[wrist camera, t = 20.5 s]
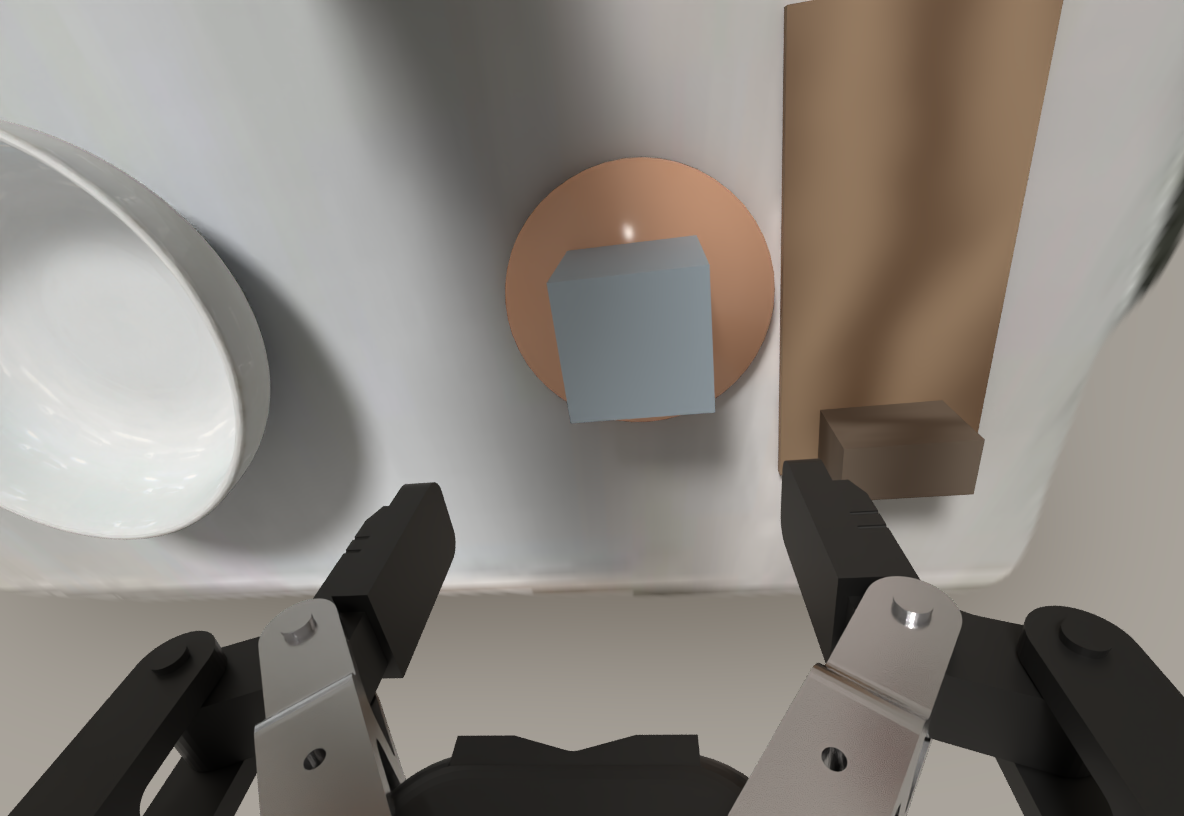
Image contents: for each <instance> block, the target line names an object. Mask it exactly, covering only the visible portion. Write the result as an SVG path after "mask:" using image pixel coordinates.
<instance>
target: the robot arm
mask: <svg viewBox="0 0 1184 816" xmlns="http://www.w3.org/2000/svg"><path fill="white" fill-rule="evenodd" d="M781 528H782V535H783V540H784V543H785V547H786V549H787V552H788V555H789V558H790V561H791V564H792V567H793V570H794V573H795V576H796V578H797V581H798V584H799V587H800V590H801V593H802V596H803V599H804V602H805V604H806V607H807V610H808V613H809V616H810V619H811V622H812V625H813V627H814V631H815V633H816V636H817V639H818V642H819V645H820V648H821V651H822V654H823V657H824V660H825V663H826V664H825V665H822V664H820V663H817V664H815V665H814V666H813V668H812V669H811V670H810V672H809V674H808V675H807V677H806V679H805V680H804V682H803V684H802V686H801V687H800V690H799V691H798V693H797V695H796V696H795V698H794V700H793V702H792V703H791V705H790V707H789V709H788V710H787V712H786V714H785V716H784V717H783V719H782V721H781V723H780V724H779V726H778V728H777V730H776V731H775V733H774V735H773V737H772V739H771V740H770V742H769V744H768V746H767V748H766V749H765V751H764V753H763V754H762V756H761V758H760V760H759V761H758V764H757V765H756V767H755V768H754V770H753V772H752V774H751V776H750V777H749V778H748V777H747V776H746V775H744V774H743V773H741V772H739V771H737V770H735V769H734V768H732V767H730V766H728V765H726V764H724V763H721V762H719V761H716V760H714V759H711V758H707V757H704V756H700V754H699V745H698V735H634V736H631V737H627V738H623V739H620V740H616V741H612V742H608V743H605V744H601V745H597V746H594V747H590V748H586V749H583V750H579V751H567V750H563V749H560V748H556V747H553V746H549V745H546V744H542V743H539V742H535V741H531V740H528V739H525V738H521V737H517V736H458V737H457V740H456V744H455V748H454V751H453V754H452V757H450V758H447V759H444V760H442V761H439V762H437V763H434V764H432V765H430V766H428V767H426V768H424V769H422V770H421V771H419V772H417V773H416V774H414V775H413V776H411V777H410V778H408V779H407V780H406V778H405V775H404V772H403V770H402V767H401V764H400V761H399V757H398V754H397V752H396V749H395V745H394V742H393V739H392V736H391V733H390V730H389V727H388V724H387V721H386V718H385V714H384V712H383V708H382V706H381V702H380V700H379V697H378V695H377V693H376V690H377V688H378V686H379V683H380V681H381V679H382V678H403V677H404V675H405V672H406V670H407V668H408V665H409V663H410V661H411V658H412V656H413V654H414V651H415V649H416V646H417V644H418V641H419V639H420V637H421V634H422V632H423V630H424V627H425V625H426V622H427V620H428V618H429V615H430V613H431V610H432V608H433V606H434V603H435V601H436V599H437V596H438V594H439V591H440V589H441V587H442V584H443V582H444V580H445V577H446V575H447V572H448V570H449V568H450V565H451V563H452V560H453V558H454V554H455V533H454V530H453V526H452V523H451V520H450V517H449V514H448V510H447V507H446V504H445V501H444V497H443V494H442V491H441V488H440V486H439V485H438V484H437V483H435V482H432V483H417V484H405V485H403V486H402V487H401V488H400V490H399V491H398V493H397V495H396V496H395V498H394V499H393V501H392V502H391V504H390V505H389V506H383V507H382V508H381V509H379V510H378V511H377V512H376V513H375V514H373V515H372V516H371V517H370V518H369V519H367V520H366V521H365V523H364V524H363V526H362V527H361V528H360V530H359V531H358V533H357V534H356V536H355V540H352V542H351V543H350V545H349V546H348V548H347V549H346V553H344V554H343V555H342V557H341V558H340V560H339V561H338V563H337V564H336V565H335V567H334V568H333V570H332V571H331V573H330V574H329V576H328V577H327V579H326V580H325V582H324V583H323V585H322V586H321V588H320V589H319V591H318V592H317V594H316V595H315V597H314V598H313V599H310V600H306V601H303V602H300V603H297V604H295V605H293V606H291V607H289V608H287V609H286V610H284V611H282V612H281V613H280V614H279V615H277V616H276V617H275V618H274V619H273V620H272V621H270V623H269V624H268V625H267V626H266V627H265V629H264V630H263V632H262V634H261V636H260V637H257V638H253V639H249V640H246V641H243V642H239V643H236V644H232V645H229V646H226V647H222V648H221V647H220V645H219V644H218V642H217V641H216V639H215V638H214V636H213V635H212V634H211V633H209V632H206V631H194V632H189V633H185V634H182V635H179V636H177V637H175V638H172V639H171V640H168V641H167V642H165V643H163V644H162V645H160V646H158V647H157V648H155V649H154V650H153V651H151V652H150V653H149V654H148V655H147V656H146V657H144V658H143V659H142V660H141V661H140V662H139V663H138V664H137V665H136V667H135V668H134V669H133V670H132V671H131V672H130V674H129V675H128V676H127V677H126V678H125V680H124V681H123V682H122V683H121V684H120V685H119V686H118V688H117V689H116V690H115V691H114V692H113V693H112V695H111V696H110V697H109V698H108V699H107V700H106V702H105V703H104V704H103V705H102V706H101V707H100V709H99V710H98V711H97V712H96V713H95V714H94V716H93V717H92V718H91V719H90V720H89V722H88V723H87V724H86V725H85V726H84V727H83V729H82V730H81V731H80V732H79V733H78V734H77V736H76V737H75V738H74V739H73V740H72V741H71V743H70V744H69V745H68V746H67V747H66V748H65V750H64V751H63V752H62V753H61V754H60V755H59V757H58V758H57V759H56V760H55V761H54V762H53V764H52V765H51V766H50V767H49V768H48V769H47V771H46V772H45V773H44V774H43V775H42V776H41V778H40V779H39V780H38V781H37V782H36V783H35V785H34V786H33V787H32V788H31V789H30V790H29V792H28V793H27V794H26V795H25V796H24V797H23V799H22V800H21V801H20V802H19V803H18V804H17V806H16V807H15V808H14V809H13V810H12V812H11V813H10V814H9V815H8V816H140V802H141V799H142V795H143V793H144V791H145V789H146V787H147V785H148V784H149V782H150V781H151V779H152V778H153V776H154V775H155V773H156V772H157V770H158V769H159V768H160V766H161V765H162V763H163V762H164V760H165V759H166V757H167V756H168V754H169V753H170V751H171V750H172V749H173V747H175V748H176V749H177V751H178V752H179V753H180V755H181V756H182V757H181V759H180V760H179V762H178V763H177V765H176V767H175V768H174V769H173V771H172V773H171V774H170V775H169V777H168V778H167V780H166V781H165V783H164V785H163V786H162V788H161V789H160V791H159V792H158V794H157V795H156V797H155V798H154V800H153V801H152V803H151V804H150V806H149V807H148V809H147V810H146V812H145V813H144V815H143V816H234V815H235V813H236V811H237V810H238V807H239V806H240V804H241V802H242V800H243V798H244V796H245V794H246V792H247V791H248V789H249V787H250V785H251V783H252V781H253V779H254V777H255V776H256V773H257V778H258V792H259V804H260V816H907V813H908V810H909V807H910V804H911V801H912V798H913V795H914V792H915V789H916V786H917V783H918V780H919V777H920V775H921V771H922V768H923V766H924V763H925V760H926V757H927V754H928V751H929V748H930V744H931V742H932V739H935V740H938V741H941V742H945V743H948V744H952V745H955V746H959V747H962V748H966V749H969V750H973V751H976V752H979V753H983V754H986V755H990V756H993V757H995V758H996V760H997V762H998V764H999V766H1000V768H1001V770H1002V772H1003V774H1004V776H1005V778H1006V780H1007V782H1008V784H1009V786H1010V788H1011V790H1012V792H1013V794H1014V796H1015V798H1016V800H1017V802H1018V804H1019V806H1020V808H1021V810H1022V812H1023V814H1024V816H1184V697H1183V695H1182V694H1181V693H1180V692H1179V691H1178V690H1177V689H1176V687H1175V686H1174V685H1173V684H1172V683H1171V682H1170V680H1169V679H1168V678H1167V677H1166V676H1165V675H1164V674H1163V673H1162V671H1161V670H1160V669H1159V668H1158V667H1157V666H1156V665H1155V663H1154V662H1153V661H1152V660H1151V659H1150V657H1149V656H1148V655H1147V654H1146V653H1145V652H1144V651H1143V649H1142V648H1141V647H1140V646H1139V645H1138V644H1137V643H1136V642H1135V641H1134V640H1133V639H1132V638H1131V637H1130V636H1129V635H1128V634H1126V633H1125V632H1124V631H1123V630H1121V629H1120V628H1119V627H1117V626H1115V625H1114V624H1112V623H1111V622H1109V621H1107V620H1105V619H1103V618H1101V617H1099V616H1096V615H1094V614H1091V613H1089V612H1086V611H1083V610H1079V609H1075V608H1070V607H1064V606H1045V607H1040V608H1037V609H1035V610H1033V611H1032V612H1030V613H1029V614H1028V616H1027V617H1026V619H1025V622H1024V625H1020V624H1014V623H1009V622H1005V621H1000V620H995V619H990V618H985V617H980V616H976V615H972V614H969V613H966V612H963V611H961V610H959V608H958V607H957V605H956V604H955V602H954V601H953V600H952V599H951V598H950V597H949V596H948V595H947V594H946V593H944V592H943V591H941V590H940V589H939V588H937V587H935V586H933V585H931V584H929V583H927V582H924V581H921V580H920V579H919V577H918V576H917V574H916V572H915V571H914V569H913V567H912V566H911V564H910V562H909V561H908V559H907V558H906V556H905V554H904V553H903V551H902V549H901V548H900V546H899V544H898V543H897V541H896V540H895V538H894V536H893V535H892V533H891V531H890V530H889V528H887V527H886V523H885V522H884V520H883V518H882V517H881V515H880V514H878V510H877V508H876V507H875V505H874V504H873V502H872V500H871V499H870V497H869V495H868V494H867V493H866V492H865V491H863V490H862V489H861V488H859V487H858V486H856V485H855V484H854V483H852V482H851V481H850V480H848V479H847V480H832V478H831V477H830V475H829V473H828V471H827V469H826V467H825V465H824V463H823V462H822V460H821V459H820V458H816V459H800V460H785V461H784V463H783V468H782V494H781Z"/></svg>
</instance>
